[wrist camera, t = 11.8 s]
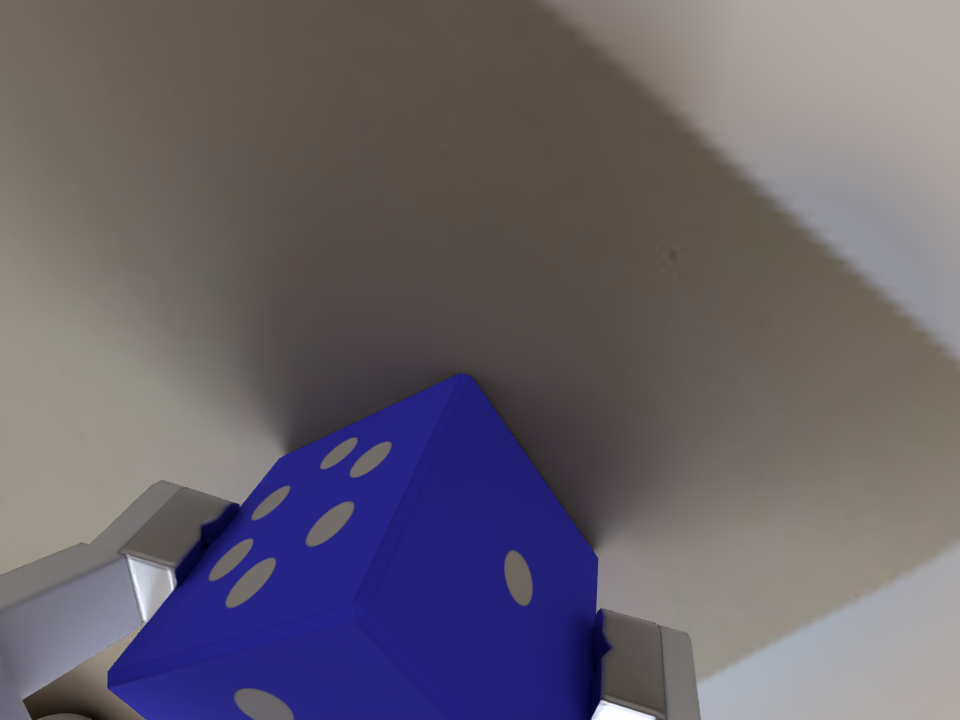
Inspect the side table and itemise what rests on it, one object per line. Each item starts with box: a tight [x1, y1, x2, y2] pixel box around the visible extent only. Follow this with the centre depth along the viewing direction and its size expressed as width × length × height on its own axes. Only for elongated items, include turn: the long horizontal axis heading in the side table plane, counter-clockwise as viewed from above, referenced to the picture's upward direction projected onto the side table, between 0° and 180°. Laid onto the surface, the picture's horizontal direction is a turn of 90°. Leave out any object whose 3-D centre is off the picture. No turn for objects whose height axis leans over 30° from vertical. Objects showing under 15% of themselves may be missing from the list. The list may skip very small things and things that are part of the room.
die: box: [107, 373, 598, 720], centre depth 10 cm, size 5×5×5 cm
